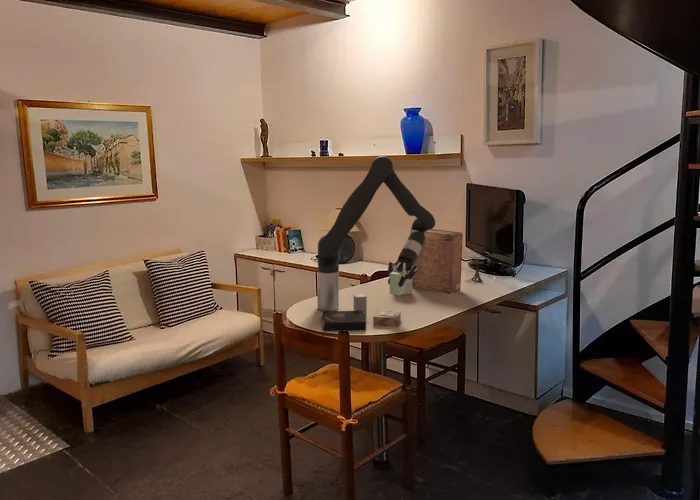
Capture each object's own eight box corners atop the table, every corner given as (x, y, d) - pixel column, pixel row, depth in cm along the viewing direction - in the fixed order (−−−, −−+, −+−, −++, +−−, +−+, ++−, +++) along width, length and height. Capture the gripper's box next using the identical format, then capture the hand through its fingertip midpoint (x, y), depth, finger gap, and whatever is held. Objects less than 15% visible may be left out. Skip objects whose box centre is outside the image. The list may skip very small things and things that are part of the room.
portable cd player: (321, 320, 255) (321, 311, 254) (361, 319, 257) (361, 310, 256) (323, 332, 239) (323, 322, 238) (365, 331, 240) (365, 321, 240)
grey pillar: (356, 317, 258) (356, 297, 257) (353, 314, 263) (353, 294, 261) (366, 316, 259) (366, 296, 258) (363, 313, 264) (363, 294, 262)
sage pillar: (398, 295, 252) (398, 274, 250) (389, 293, 255) (389, 273, 253) (404, 293, 255) (404, 272, 254) (395, 291, 258) (395, 271, 257)
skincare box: (412, 293, 301) (413, 262, 299) (404, 295, 296) (405, 264, 294) (399, 290, 307) (399, 260, 304) (391, 292, 302) (391, 262, 299)
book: (409, 285, 317) (411, 229, 312) (420, 283, 324) (421, 227, 319) (450, 293, 300) (452, 234, 295) (460, 290, 307) (462, 232, 302)
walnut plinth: (373, 326, 247) (373, 316, 247) (377, 319, 257) (377, 309, 256) (397, 327, 245) (397, 317, 245) (400, 320, 255) (400, 311, 254)
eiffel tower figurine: (473, 278, 338) (474, 255, 336) (490, 280, 332) (491, 257, 330) (461, 283, 326) (462, 258, 324) (478, 285, 320) (479, 261, 318)
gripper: (392, 245, 262) (377, 277, 254) (421, 249, 253) (405, 282, 246) (399, 256, 267) (383, 287, 260) (427, 259, 259) (412, 292, 251)
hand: (394, 284), depth 253 cm, fingers closed on sage pillar, 4 cm apart
